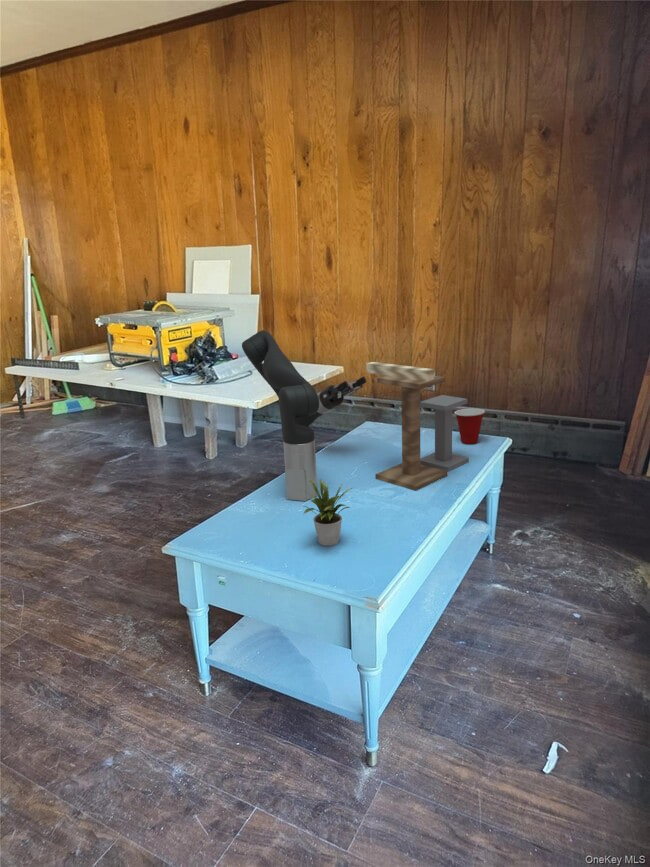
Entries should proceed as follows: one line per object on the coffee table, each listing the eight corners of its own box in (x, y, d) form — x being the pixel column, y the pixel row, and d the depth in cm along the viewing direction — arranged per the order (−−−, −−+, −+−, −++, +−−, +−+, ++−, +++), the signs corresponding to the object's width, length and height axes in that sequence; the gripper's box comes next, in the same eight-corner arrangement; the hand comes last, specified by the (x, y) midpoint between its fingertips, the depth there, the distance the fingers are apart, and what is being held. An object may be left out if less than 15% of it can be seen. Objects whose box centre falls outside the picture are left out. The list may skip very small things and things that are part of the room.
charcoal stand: (468, 462, 199) (470, 399, 193) (447, 471, 191) (448, 406, 185) (439, 454, 208) (439, 394, 201) (417, 463, 200) (417, 401, 194)
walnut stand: (447, 475, 188) (448, 375, 179) (415, 490, 178) (415, 385, 168) (407, 465, 199) (406, 370, 190) (375, 478, 189) (372, 379, 180)
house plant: (284, 541, 150) (279, 480, 145) (323, 523, 159) (320, 465, 155) (323, 559, 140) (320, 495, 136) (363, 539, 149) (361, 478, 145)
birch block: (434, 379, 175) (434, 369, 174) (427, 381, 173) (427, 370, 172) (372, 371, 192) (372, 361, 191) (366, 372, 190) (366, 363, 189)
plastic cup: (466, 436, 227) (466, 405, 223) (490, 441, 219) (491, 410, 215) (447, 442, 220) (448, 411, 217) (471, 448, 212) (472, 416, 209)
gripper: (308, 393, 204) (336, 374, 192) (337, 386, 213) (366, 367, 201) (316, 414, 203) (345, 396, 191) (346, 405, 213) (375, 387, 200)
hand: (356, 381), depth 196 cm, fingers open, 8 cm apart
